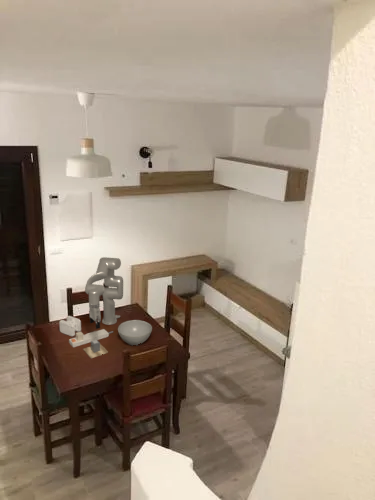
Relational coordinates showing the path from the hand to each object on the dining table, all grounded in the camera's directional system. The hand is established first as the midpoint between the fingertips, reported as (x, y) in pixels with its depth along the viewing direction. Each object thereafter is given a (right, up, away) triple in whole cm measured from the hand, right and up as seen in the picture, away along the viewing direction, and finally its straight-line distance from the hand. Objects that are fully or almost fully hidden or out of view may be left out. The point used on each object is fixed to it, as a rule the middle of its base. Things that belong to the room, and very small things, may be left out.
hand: (95, 325), depth 305 cm
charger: (-1, -20, +4) cm, 20 cm away
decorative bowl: (+27, -17, +20) cm, 38 cm away
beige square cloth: (-1, -20, +4) cm, 21 cm away
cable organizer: (-26, -11, +28) cm, 40 cm away
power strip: (-7, -14, +21) cm, 26 cm away
